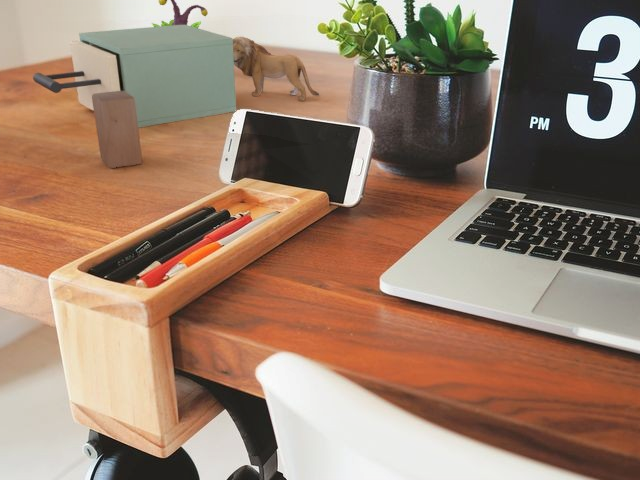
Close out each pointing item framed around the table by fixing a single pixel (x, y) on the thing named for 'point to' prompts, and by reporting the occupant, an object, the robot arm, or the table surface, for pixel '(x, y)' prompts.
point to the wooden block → (117, 128)
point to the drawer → (88, 73)
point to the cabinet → (173, 71)
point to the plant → (181, 18)
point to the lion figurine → (268, 66)
